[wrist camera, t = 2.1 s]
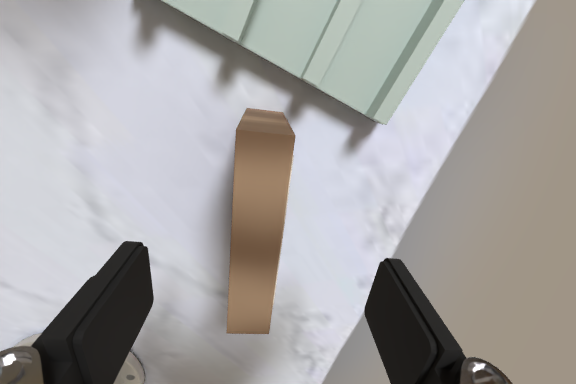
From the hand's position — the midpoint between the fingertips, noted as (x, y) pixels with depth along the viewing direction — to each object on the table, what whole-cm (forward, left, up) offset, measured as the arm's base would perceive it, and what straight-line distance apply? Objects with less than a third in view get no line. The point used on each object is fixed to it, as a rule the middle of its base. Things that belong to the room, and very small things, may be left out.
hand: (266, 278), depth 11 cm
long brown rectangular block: (-1, 0, -11) cm, 11 cm away
